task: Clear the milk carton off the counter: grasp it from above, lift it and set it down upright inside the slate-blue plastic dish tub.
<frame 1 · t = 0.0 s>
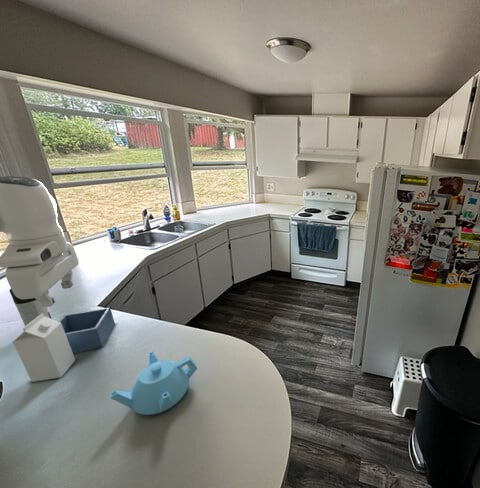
hand: (59, 295, 65), 30 cm above the table, tool pointing down, fingers open, 8 cm apart
milk carton: (55, 371, 79), on the table
teapot: (161, 396, 72), on the table
dish tub: (86, 339, 92), on the table
spray can: (43, 333, 94), on the table
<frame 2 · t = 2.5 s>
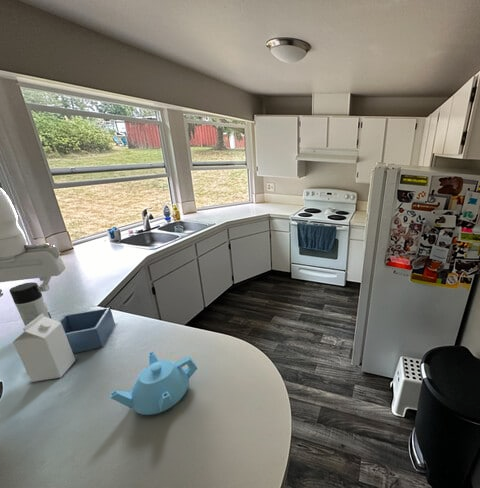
hand: (21, 293, 69), 28 cm above the table, tool pointing down, fingers open, 8 cm apart
nothing on the table moved.
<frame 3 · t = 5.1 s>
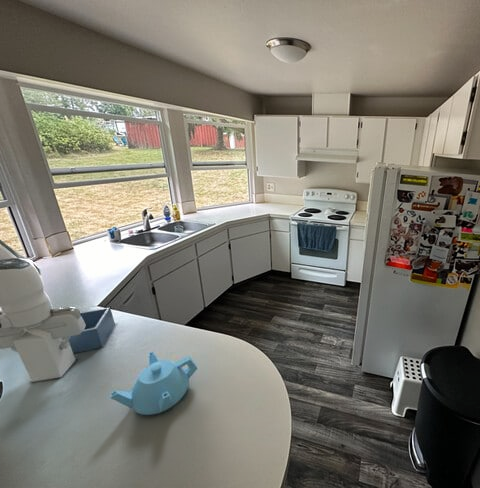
hand: (46, 351, 76), 8 cm above the table, tool pointing down, fingers closed on milk carton, 7 cm apart
milk carton: (55, 371, 79), on the table, touching gripper
everything else where it was.
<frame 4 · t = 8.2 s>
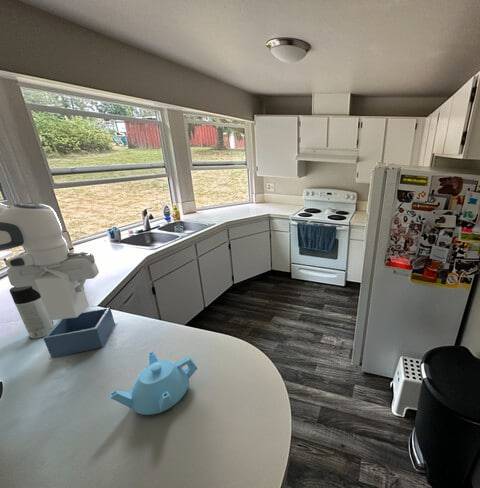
hand: (63, 293, 83), 21 cm above the table, tool pointing down, fingers closed on milk carton, 7 cm apart
milk carton: (70, 313, 85), point 13 cm above the table, touching gripper
everything else where it was.
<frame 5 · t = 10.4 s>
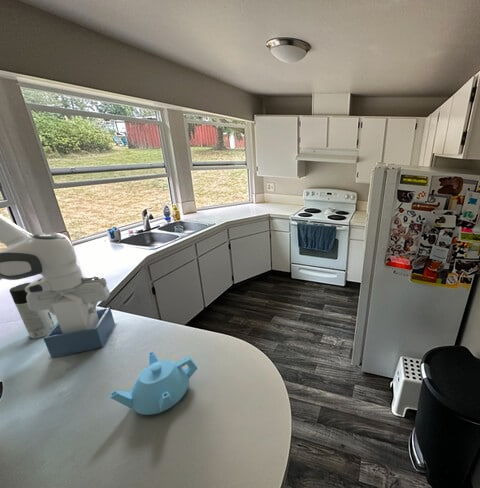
hand: (77, 314, 88), 11 cm above the table, tool pointing down, fingers closed on milk carton, 7 cm apart
milk carton: (84, 333, 91), point 3 cm above the table, touching gripper
everything else where it was.
when the fingers open (9 cm above the table, at t = 11.7 s): milk carton stays where it is, resting on dish tub.
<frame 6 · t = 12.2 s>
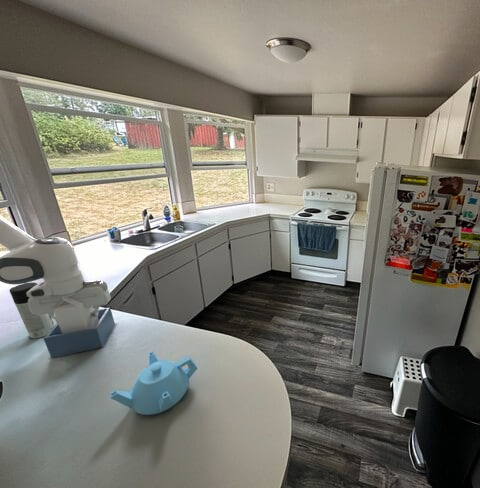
hand: (78, 318, 89), 9 cm above the table, tool pointing down, fingers open, 8 cm apart
milk carton: (85, 337, 91), point 1 cm above the table, touching dish tub
everything else where it was.
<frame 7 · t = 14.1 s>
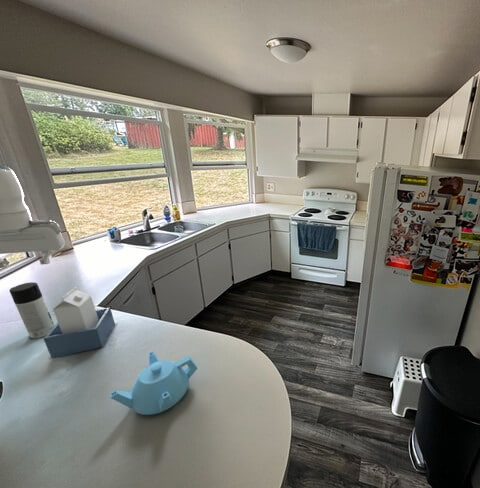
hand: (24, 265, 76), 32 cm above the table, tool pointing down, fingers open, 8 cm apart
nothing on the table moved.
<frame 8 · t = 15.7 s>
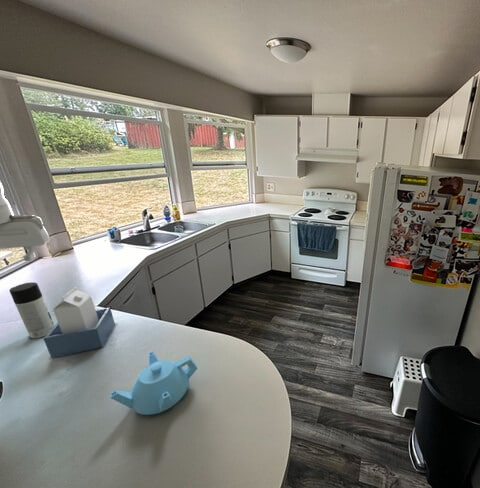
hand: (8, 262, 73), 34 cm above the table, tool pointing down, fingers open, 8 cm apart
nothing on the table moved.
at the end: milk carton inside the target area in the dish tub (0.0 cm from its centre), point 0.8 cm above the dish tub's base; milk carton tilted 0°; the gripper is holding nothing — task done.
